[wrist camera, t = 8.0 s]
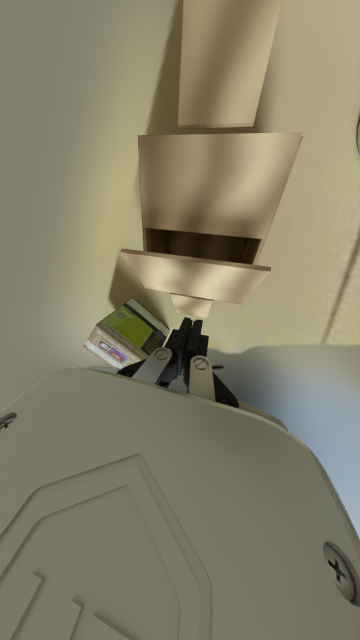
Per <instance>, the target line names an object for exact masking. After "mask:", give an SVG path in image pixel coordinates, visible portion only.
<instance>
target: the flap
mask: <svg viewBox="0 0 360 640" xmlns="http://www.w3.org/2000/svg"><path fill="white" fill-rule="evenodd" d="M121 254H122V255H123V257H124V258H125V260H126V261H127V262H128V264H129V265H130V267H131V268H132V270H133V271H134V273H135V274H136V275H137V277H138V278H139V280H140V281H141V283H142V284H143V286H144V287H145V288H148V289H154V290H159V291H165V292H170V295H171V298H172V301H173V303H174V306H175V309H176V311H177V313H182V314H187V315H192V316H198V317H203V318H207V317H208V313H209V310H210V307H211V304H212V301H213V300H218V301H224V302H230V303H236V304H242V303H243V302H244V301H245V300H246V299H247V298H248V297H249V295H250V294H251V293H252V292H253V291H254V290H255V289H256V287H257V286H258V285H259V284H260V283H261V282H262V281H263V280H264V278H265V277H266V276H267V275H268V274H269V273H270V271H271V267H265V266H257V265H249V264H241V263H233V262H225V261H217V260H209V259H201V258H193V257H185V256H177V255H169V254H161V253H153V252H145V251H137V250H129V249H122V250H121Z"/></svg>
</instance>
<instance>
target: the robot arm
mask: <svg viewBox="0 0 360 640" xmlns="http://www.w3.org/2000/svg"><path fill="white" fill-rule="evenodd" d="M357 142H358V149H359V152H360V123H359V127H358V138H357ZM192 321H193V320H191V318H186V317H184V320H183V322H182V324H181V326H180V328H179V330H175V329H173V331H172V333H171V335H170V337H169V339H168V341H167V343H166V345H165V346H164V347H161V348H157V349H155V350H154V351H153V353H152V354H151V355H150V356H149V357H148V358H147V359H144V360H141V361H139V362H136V363H133V364H131V365H128V366H125V367H123V368H122V369H119V367H95V366H93V367H89V368H85V367H84V368H83V367H76V368H67V369H62V370H58V371H56V372H53V373H52V374H50V375H48V376H46V377H45V378H43V379H42V380H41V381H39V382H38V383H36V384H35V385H33V386H32V387H31V388H30V389H28V390H27V391H25V392H24V393H23V394H22V395H20V396H19V397H18V398H16V399H15V400H14V401H13V402H11V403H10V404H9V405H8V406H6V407H5V408H4V409H3V410H1V411H0V640H360V539H359V537H358V535H357V532H356V530H355V528H354V526H353V524H352V522H351V520H350V518H349V515H348V513H347V511H346V509H345V507H344V505H343V503H342V501H341V499H340V497H339V495H338V493H337V491H336V489H335V487H334V486H333V483H332V482H331V480H330V478H329V476H328V474H327V472H326V471H325V469H324V467H323V466H322V464H321V463H320V462H319V460H318V458H317V457H316V456H315V454H314V453H313V452H312V451H311V450H310V449H309V448H308V447H307V446H306V445H305V444H304V443H303V442H302V441H301V440H300V439H298V438H297V437H296V436H294V435H293V434H292V433H290V432H289V431H288V429H287V428H286V426H285V425H284V424H283V423H282V422H281V421H280V420H279V419H277V418H275V417H273V416H271V415H269V414H267V413H265V412H263V411H261V410H259V409H257V408H255V407H253V406H251V405H249V404H247V403H245V402H242V403H241V402H239V401H238V400H237V399H236V398H235V396H234V395H233V394H232V393H231V392H230V391H229V389H228V388H227V387H226V386H225V385H224V384H223V383H222V382H221V380H220V379H219V378H218V377H217V376H216V375H215V374H214V373H213V372H212V366H211V362H210V361H209V359H207V358H206V355H207V347H208V339H209V336H206V335H201V328H202V323H203V320H198V319H197V321H194V323H193V326H192ZM182 369H183V376H184V380H183V381H184V383H185V384H186V386H187V393H183V392H179V391H176V390H172V389H169V386H170V384H171V381H172V380H174V379H177V377H178V375H181V372H182Z"/></svg>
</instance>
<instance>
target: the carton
mask: <svg viewBox="0 0 360 640" xmlns="http://www.w3.org/2000/svg"><path fill="white" fill-rule="evenodd" d="M302 139H303V136H301V139H300V142H299V145H298V147H297V150H296V153H295V156H294V159H293V161H292V164H291V167H290V170H289V172H288V175H287V178H286V181H285V184H284V186H283V189H282V192H281V195H280V198H279V200H278V203H277V206H276V209H275V212H274V214H273V217H272V220H271V223H270V225H269V228H268V231H267V234H266V237H265V239H257V238H246V237H236V236H225V235H215V234H204V233H194V232H183V231H173V230H162V229H152V228H143V225H142V229H143V248H144V251H145V252H153V253H161V254H169V255H177V256H185V257H193V258H201V259H209V260H217V261H225V262H233V263H241V264H249V265H257V263H258V260H259V257H260V254H261V252H262V249H263V246H264V243H265V241H266V238H267V235H268V232H269V230H270V227H271V224H272V221H273V219H274V216H275V213H276V210H277V208H278V205H279V202H280V199H281V197H282V194H283V191H284V188H285V186H286V183H287V180H288V177H289V175H290V172H291V169H292V166H293V164H294V161H295V158H296V155H297V153H298V150H299V147H300V144H301V141H302ZM138 147H139V145H138ZM139 169H140V165H139ZM140 189H141V185H140ZM141 209H142V205H141Z"/></svg>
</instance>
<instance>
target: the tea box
mask: <svg viewBox="0 0 360 640" xmlns="http://www.w3.org/2000/svg"><path fill="white" fill-rule="evenodd" d="M169 332H170V330H169V329H168V328H167V327H165V326H164V325H163V324H162V323H161V322H160V321H158V320H157V319H156V318H155V317H154V316H153V315H152V314H150V313H149V312H148V311H147V310H146V309H145V308H143V307H142V306H141V305H140V304H139V303H138V302H137V301H135V300H134V299H133V298H132V299H130V300H129V301H127V302H126V303H125V304H123V305H122V306H121V307H119V308H118V309H116V310H115V311H114V312H112V313H111V314H110V315H108V316H107V317H105V318H104V319H103V320H101V321H100V322H99V323H97V324H96V326H95V328H94V329H93V331H92V333H91V335H90V336H89V338H88V340H87V341H86V343H85V345H84V347H85V348H86V349H87V350H89V351H90V352H92V353H93V354H94V355H96V356H97V357H99V358H100V359H102V360H103V361H105V362H106V363H107V364H109V365H110V366H111V367H119V369H122V368H123V367H125V366H128V365H131V364H133V363H136V362H139V361H141V360H144V359H147V358H148V357H149V356H150V355H151V354H152V353H153V351H154V350H155V349H157V348H161V347H162V346H163V344H164V342H165V340H166V338H167V336H168V334H169Z"/></svg>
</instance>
